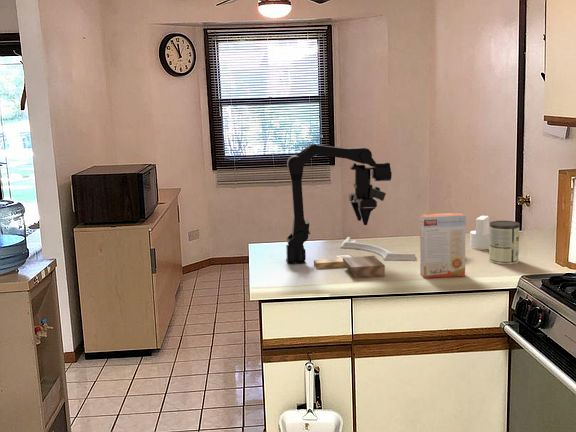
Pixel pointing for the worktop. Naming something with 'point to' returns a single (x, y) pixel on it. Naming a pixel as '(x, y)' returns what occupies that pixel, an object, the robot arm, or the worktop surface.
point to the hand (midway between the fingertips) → (362, 222)
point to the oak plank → (329, 263)
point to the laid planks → (365, 266)
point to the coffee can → (504, 242)
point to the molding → (377, 250)
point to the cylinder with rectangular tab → (480, 234)
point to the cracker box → (442, 245)
